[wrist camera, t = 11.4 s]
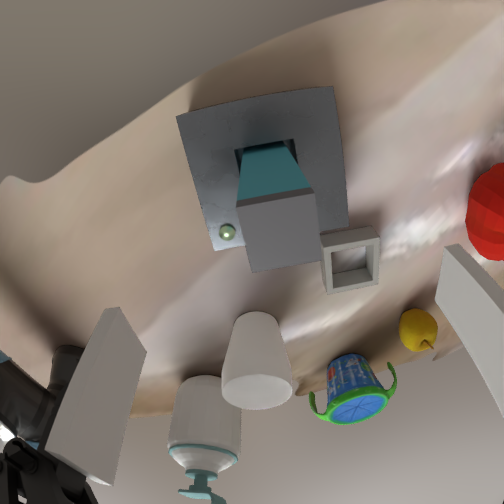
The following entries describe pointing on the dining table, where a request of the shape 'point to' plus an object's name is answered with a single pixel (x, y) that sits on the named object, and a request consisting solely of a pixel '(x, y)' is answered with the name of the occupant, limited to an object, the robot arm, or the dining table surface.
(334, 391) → the snack cup
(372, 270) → the holster
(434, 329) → the apple
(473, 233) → the tomato
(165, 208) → the dining table surface
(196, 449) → the soap bottle
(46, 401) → the robot arm
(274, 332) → the cup
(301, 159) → the port
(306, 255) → the plug
